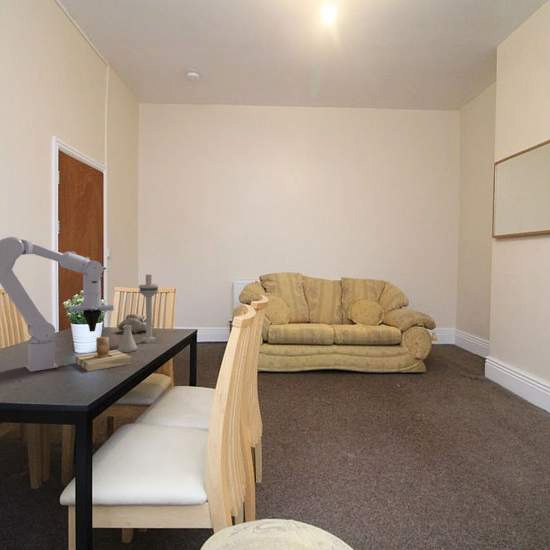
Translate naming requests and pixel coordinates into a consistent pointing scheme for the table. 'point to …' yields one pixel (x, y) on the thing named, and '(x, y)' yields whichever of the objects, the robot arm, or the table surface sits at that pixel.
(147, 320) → the model tower
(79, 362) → the birch board
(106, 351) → the oak peg
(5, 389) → the table surface
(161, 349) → the table surface
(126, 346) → the flask
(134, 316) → the mineral
